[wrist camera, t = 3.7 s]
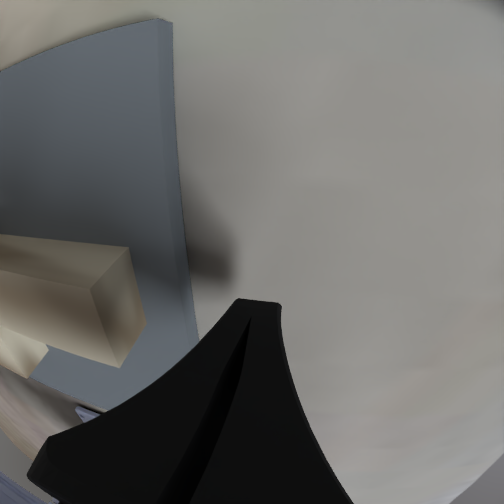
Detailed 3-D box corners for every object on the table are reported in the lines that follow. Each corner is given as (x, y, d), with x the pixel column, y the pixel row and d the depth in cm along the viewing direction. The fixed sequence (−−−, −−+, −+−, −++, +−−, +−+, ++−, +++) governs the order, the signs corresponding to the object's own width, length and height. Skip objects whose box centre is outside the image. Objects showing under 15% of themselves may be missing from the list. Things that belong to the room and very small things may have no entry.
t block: (165, 385, 14) (147, 426, 12) (14, 336, 16) (-6, 361, 14) (109, 123, 8) (55, 143, 6) (-50, 158, 10) (-84, 176, 8)
